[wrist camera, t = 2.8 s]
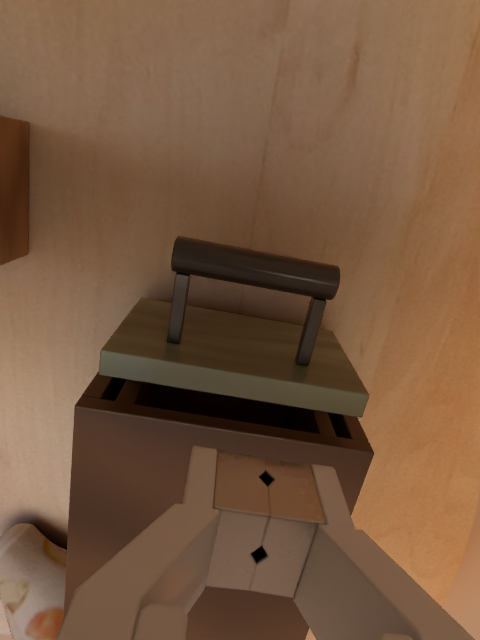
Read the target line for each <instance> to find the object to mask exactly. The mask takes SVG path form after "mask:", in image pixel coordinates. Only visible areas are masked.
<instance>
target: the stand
mask: <svg viewBox="0 0 480 640" xmlns="http://www.w3.org/2000/svg"><path fill="white" fill-rule="evenodd" d="M28 181H29V123H28V122H25V121H21V120H16V119H12V118H7V117H3V116H0V265H3V264H5V263H8V262H10V261H13V260H15V259H18V258H20V257H23V256H25V255H28Z"/></svg>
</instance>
